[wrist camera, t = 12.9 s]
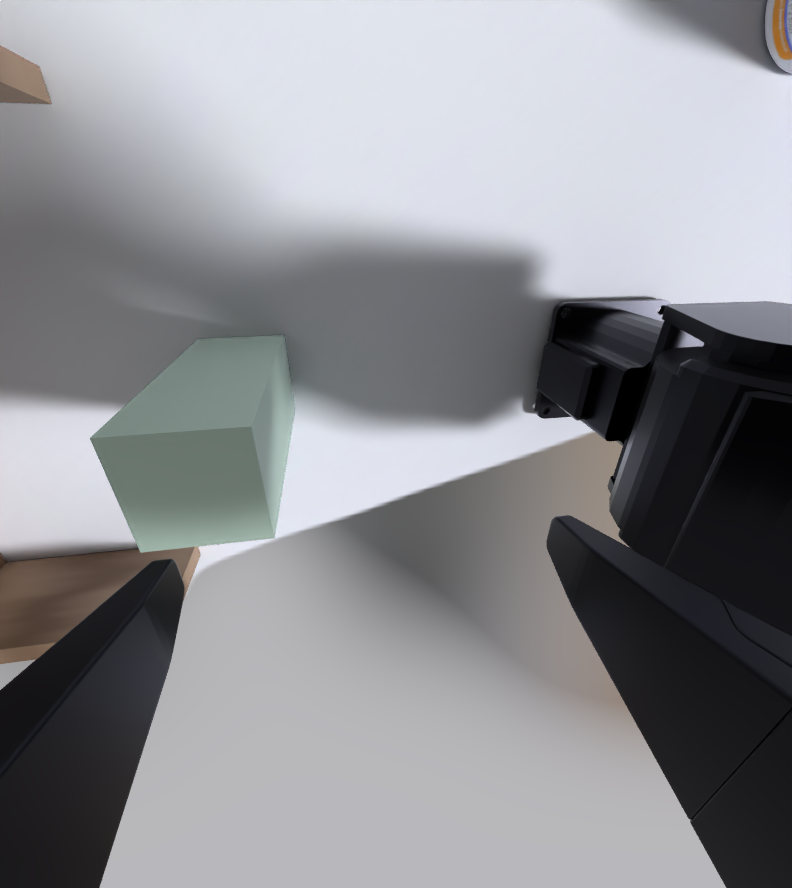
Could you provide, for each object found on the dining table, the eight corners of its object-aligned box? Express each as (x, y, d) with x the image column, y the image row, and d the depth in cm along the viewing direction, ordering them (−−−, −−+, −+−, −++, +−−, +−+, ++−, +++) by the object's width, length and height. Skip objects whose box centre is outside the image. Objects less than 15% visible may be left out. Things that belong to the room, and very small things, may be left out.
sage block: (284, 334, 19) (251, 426, 11) (295, 409, 21) (274, 537, 13) (197, 338, 19) (89, 438, 10) (217, 415, 21) (140, 552, 12)
